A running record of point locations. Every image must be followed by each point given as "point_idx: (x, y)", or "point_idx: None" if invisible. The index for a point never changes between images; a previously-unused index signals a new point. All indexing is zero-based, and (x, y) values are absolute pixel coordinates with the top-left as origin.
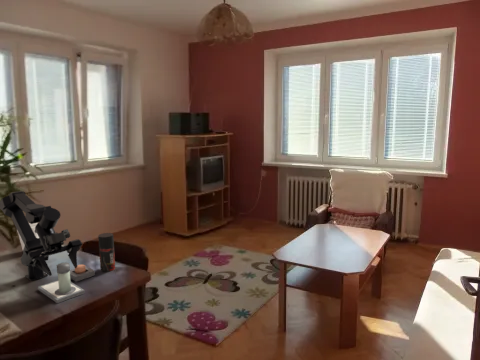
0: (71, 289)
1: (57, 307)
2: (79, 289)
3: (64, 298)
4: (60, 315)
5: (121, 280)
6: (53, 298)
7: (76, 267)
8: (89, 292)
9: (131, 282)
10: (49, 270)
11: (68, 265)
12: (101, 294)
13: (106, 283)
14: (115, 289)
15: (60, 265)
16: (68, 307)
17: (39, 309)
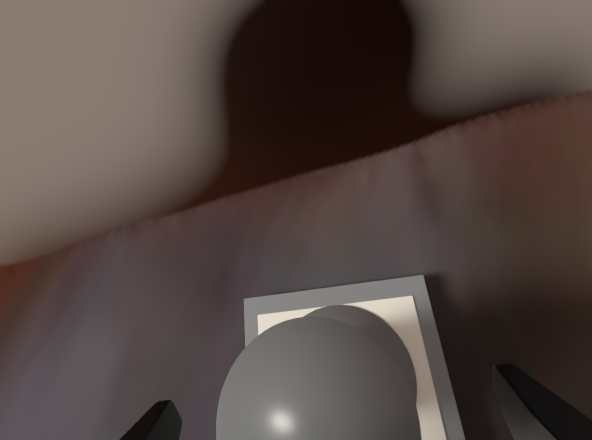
0: None
1: (428, 228)
2: (263, 326)
3: (373, 283)
4: (431, 139)
5: (44, 320)
6: (436, 329)
7: (170, 411)
8: (228, 293)
9: (40, 259)
10: (549, 409)
11: (258, 335)
12: (200, 226)
13: (109, 343)
14: (129, 235)
15: (357, 419)
16: (377, 193)
17: (531, 271)
